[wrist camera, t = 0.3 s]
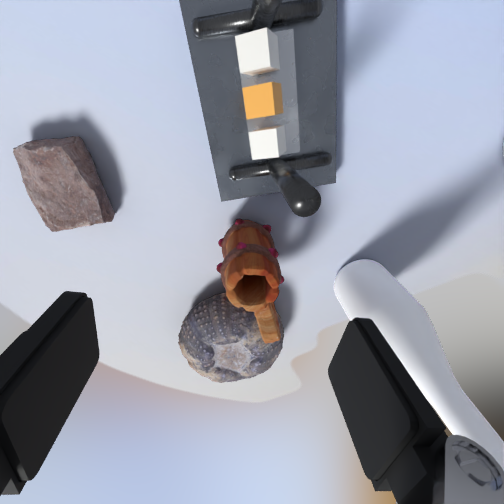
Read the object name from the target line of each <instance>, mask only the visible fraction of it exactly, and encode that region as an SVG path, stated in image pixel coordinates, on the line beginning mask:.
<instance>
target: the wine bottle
mask: <svg viewBox="0 0 504 504" xmlns="http://www.w3.org/2000/svg"><path fill="white" fill-rule="evenodd" d="M334 292H335V295H336V297H337V298H338V300H339V302H340V304H341V306H342V307H343V309H344V311H345V313H346V314H347V316H348V318H349V320H350V321H352V320H353V319H354V318H355V317H359V318H370V319H372V321H373V322H374V323H375V325H376V326H377V327H378V329H379V330H380V332H381V333H382V335H383V336H384V338H385V339H386V341H387V342H388V344H389V345H390V346H391V348H392V349H393V351H394V352H395V354H396V355H397V357H398V358H399V360H400V361H401V363H402V364H403V366H404V367H405V368H406V370H407V371H408V373H409V374H410V376H411V377H412V379H413V380H414V382H415V383H416V385H417V386H418V387H419V389H420V390H421V392H422V393H423V395H424V396H425V398H426V399H427V400H428V401H429V402H430V404H431V405H432V406H433V407H434V409H435V410H436V411H437V413H438V414H439V416H440V417H441V419H442V420H443V421H444V423H445V424H446V426H447V427H448V428H449V430H450V431H451V433H452V434H453V435H461V436H465V437H467V438H469V439H471V440H473V441H475V442H476V443H477V444H479V445H480V446H482V447H483V448H484V449H485V450H486V451H487V452H489V453H490V454H491V455H492V456H493V457H494V458H495V460H496V461H497V462H498V463H499V465H500V466H501V467H502V469H503V471H504V442H503V440H502V439H501V438H500V436H499V435H498V434H497V433H496V431H495V430H494V429H493V428H492V426H491V425H490V424H489V423H488V421H487V420H486V419H485V418H484V416H483V415H482V414H481V413H480V411H479V410H478V409H477V408H476V406H475V405H474V404H473V403H472V402H471V400H470V399H469V398H468V396H467V395H466V394H465V393H464V391H463V390H462V388H461V387H460V385H459V383H458V382H457V380H456V378H455V376H454V374H453V371H452V369H451V367H450V364H449V362H448V360H447V357H446V355H445V353H444V350H443V349H442V346H441V344H440V341H439V339H438V336H437V333H436V331H435V328H434V326H433V324H432V321H431V319H430V318H429V315H428V313H427V312H426V310H425V308H424V307H423V306H422V305H421V304H420V303H419V302H418V301H417V300H416V299H415V298H414V297H413V296H412V295H411V294H410V293H409V292H408V291H407V290H406V289H405V288H404V287H403V286H402V285H401V284H400V283H399V282H398V281H397V280H396V279H395V278H394V277H393V276H392V275H391V274H390V273H389V272H388V271H387V270H386V269H385V267H384V266H383V265H381V264H380V263H378V262H376V261H373V260H369V259H361V260H356V261H353V262H351V263H349V264H347V265H346V266H344V267H343V268H342V269H341V270H340V271H339V273H338V274H337V276H336V278H335V281H334Z"/></svg>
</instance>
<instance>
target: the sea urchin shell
mask: <svg viewBox="0 0 504 504" xmlns="http://www.w3.org/2000/svg"><path fill="white" fill-rule="evenodd" d="M254 314H255V313H254V312H252V311H246V310H245V309H244V308H243V307H239V308H238V307H235V306H234V305H233V304H232V303H231V302H230V301H229V299H228V297H227V296H226V293H221V294H217V295H214V296H212V297H211V298H208V299H205V300H204V301H202V302H200V303H199V304H197V305H196V306H195V307H194V308H193V309H192V310H191V311H190V312H189V313H188V315H187V316H186V317H185V319H184V321H183V325H182V326H181V331H180V333H179V335H178V336H179V342H178V343H179V345H180V349H181V351H182V354H183V355H184V357H185V358H186V359H187V360H188V363H189V365H190V367H191V368H193V369H194V370H195V371H196V372H197V373H199V374H200V375H202V376H204V377H207V378H209V379H210V380H212V381H215V382H219V383H222V382H226V381H227V382H232V381H237V380H241V379H246V378H251V377H254V376H256V375H258V374H261V373H264V372H265V371H266V370H268V369H269V368H270V367H271V366H272V364H273V363H274V361H275V360H276V358H278V355H279V354H280V351H281V349H282V343H283V338H284V334H283V333H284V332H283V325H282V322H281V320H280V316H279V314H277V311H276V314H277V318H278V322H279V329H280V333H281V339H280V340H279V341H275V342H273V343H267V344H266V343H264V341H263V339H262V336H261V333H260V330H259V326H258V323H257V319H256V317H255V315H254Z"/></svg>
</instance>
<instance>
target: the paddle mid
mask: <svg viewBox="0 0 504 504" xmlns="http://www.w3.org/2000/svg"><path fill="white" fill-rule="evenodd" d="M242 90H243V97H244V104H245V111H246V119H253V118H260V117H266V116H272V115H277V114H281V113H283V100H282V88H281V83H276V82H268V83H263V84H258V85H253V86H248V87H244V88H242Z"/></svg>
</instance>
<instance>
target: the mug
mask: <svg viewBox="0 0 504 504" xmlns="http://www.w3.org/2000/svg"><path fill="white" fill-rule="evenodd" d="M270 232H271V226H269V225H263V226H262V225H260V224H258V223H256V222H253V221H250V220H242V219H237V220H236V222H235V224H234V225H233V226H232V227H231V228H230V229H229V230H228V231H227V232H226V234H225V236H224V238H222V239H220V240H219V243H218V244H219V246H221V247H222V254H223V257H224V261H223V262H222V263H219V264H218V265H217V271H218V272H219V273H221V280H222V283H223V286H224V287H225V289H226V296H227V297H228V299H229V301H230V302H231V303H232V304H233V305H234V306H235V307H238V308H239V307H243V308H244V309H245V310H246V311H252V312H254V313H255V314H254V315H255V317H256V319H257V323H258V326H259V330H260V333H261V336H262V339H263V341H264V343H266V344H267V343H273V342H275V341H279V340H280V339H281V333H280V329H279V322H278V318H277V314H276V310H275V306H274V301H275V300H276V298H277V297H278V294H279V288H278V286H279V284H281V283H283V282H284V278H283V276H282V275H281V270H280V266H279V263H278V260H277V257H278V252H277V251H276V249H275V246H274V242H273V239H272V236H271V234H270Z"/></svg>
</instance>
